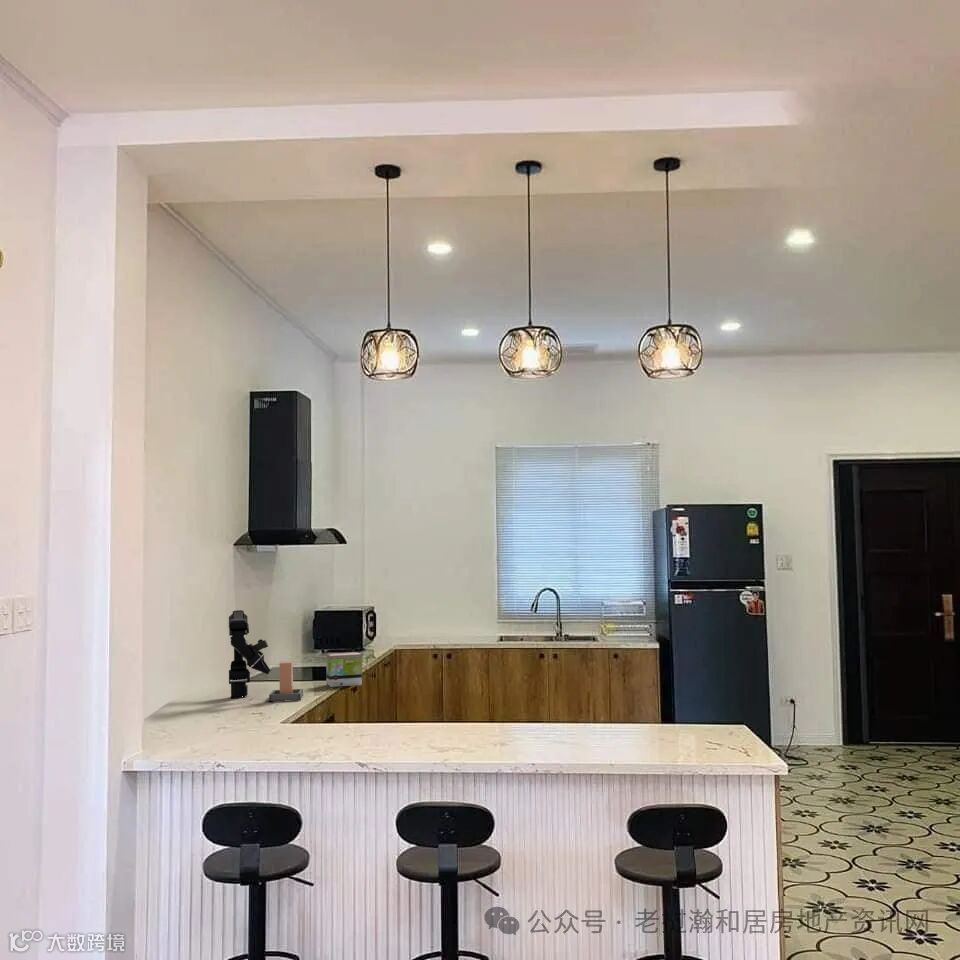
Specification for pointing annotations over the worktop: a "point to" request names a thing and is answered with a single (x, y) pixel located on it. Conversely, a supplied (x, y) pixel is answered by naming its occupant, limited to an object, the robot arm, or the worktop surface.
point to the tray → (286, 695)
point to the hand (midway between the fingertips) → (269, 672)
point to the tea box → (344, 669)
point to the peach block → (286, 677)
